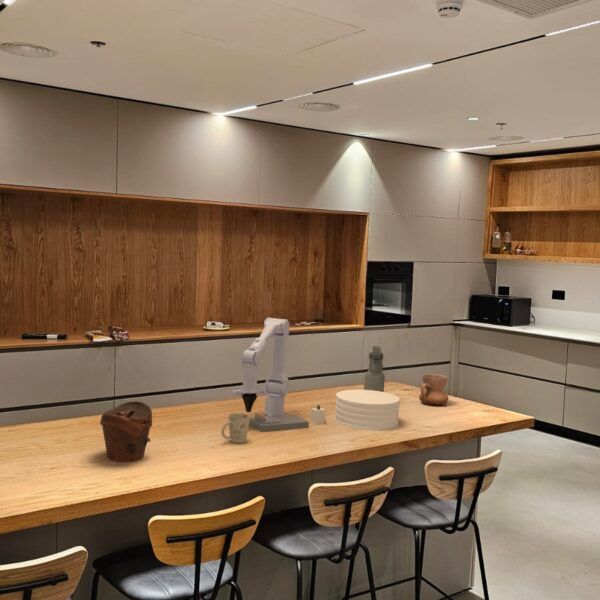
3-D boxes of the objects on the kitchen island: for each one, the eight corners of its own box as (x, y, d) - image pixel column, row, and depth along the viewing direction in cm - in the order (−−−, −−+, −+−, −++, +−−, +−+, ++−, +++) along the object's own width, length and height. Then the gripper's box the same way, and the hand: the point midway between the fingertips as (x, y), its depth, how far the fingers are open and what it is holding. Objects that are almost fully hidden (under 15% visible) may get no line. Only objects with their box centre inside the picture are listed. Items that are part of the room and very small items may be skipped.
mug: (253, 441, 273) (254, 416, 272) (228, 447, 264) (230, 421, 263) (238, 436, 278) (240, 411, 277) (214, 442, 269) (215, 416, 268)
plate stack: (360, 433, 293) (362, 406, 292) (322, 417, 317) (323, 392, 316) (411, 426, 308) (412, 401, 307) (371, 411, 332) (372, 387, 331)
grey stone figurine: (384, 406, 343) (387, 349, 340) (363, 405, 343) (367, 348, 341) (381, 401, 353) (385, 346, 351) (362, 400, 353) (365, 345, 351)
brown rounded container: (102, 467, 234) (105, 414, 233) (94, 449, 252) (97, 400, 251) (156, 463, 241) (159, 412, 240) (144, 447, 259) (147, 399, 258)
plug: (310, 421, 307) (311, 405, 306) (320, 421, 309) (321, 404, 308) (315, 424, 303) (316, 407, 303) (325, 423, 306) (326, 406, 305)
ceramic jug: (434, 398, 366) (435, 371, 365) (455, 404, 354) (457, 376, 353) (409, 402, 355) (410, 375, 354) (430, 409, 344) (432, 380, 342)
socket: (247, 423, 299) (247, 417, 298) (292, 419, 309) (293, 413, 309) (261, 432, 287) (261, 426, 286) (308, 427, 297) (308, 421, 297)
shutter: (254, 418, 297) (255, 413, 297) (271, 417, 301) (272, 412, 301) (263, 423, 290) (263, 418, 290) (280, 421, 294) (280, 416, 294)
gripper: (237, 381, 282) (236, 415, 284) (270, 380, 289) (268, 412, 291) (230, 378, 289) (229, 411, 290) (262, 376, 296) (261, 408, 297)
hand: (248, 411), depth 291 cm, fingers closed
